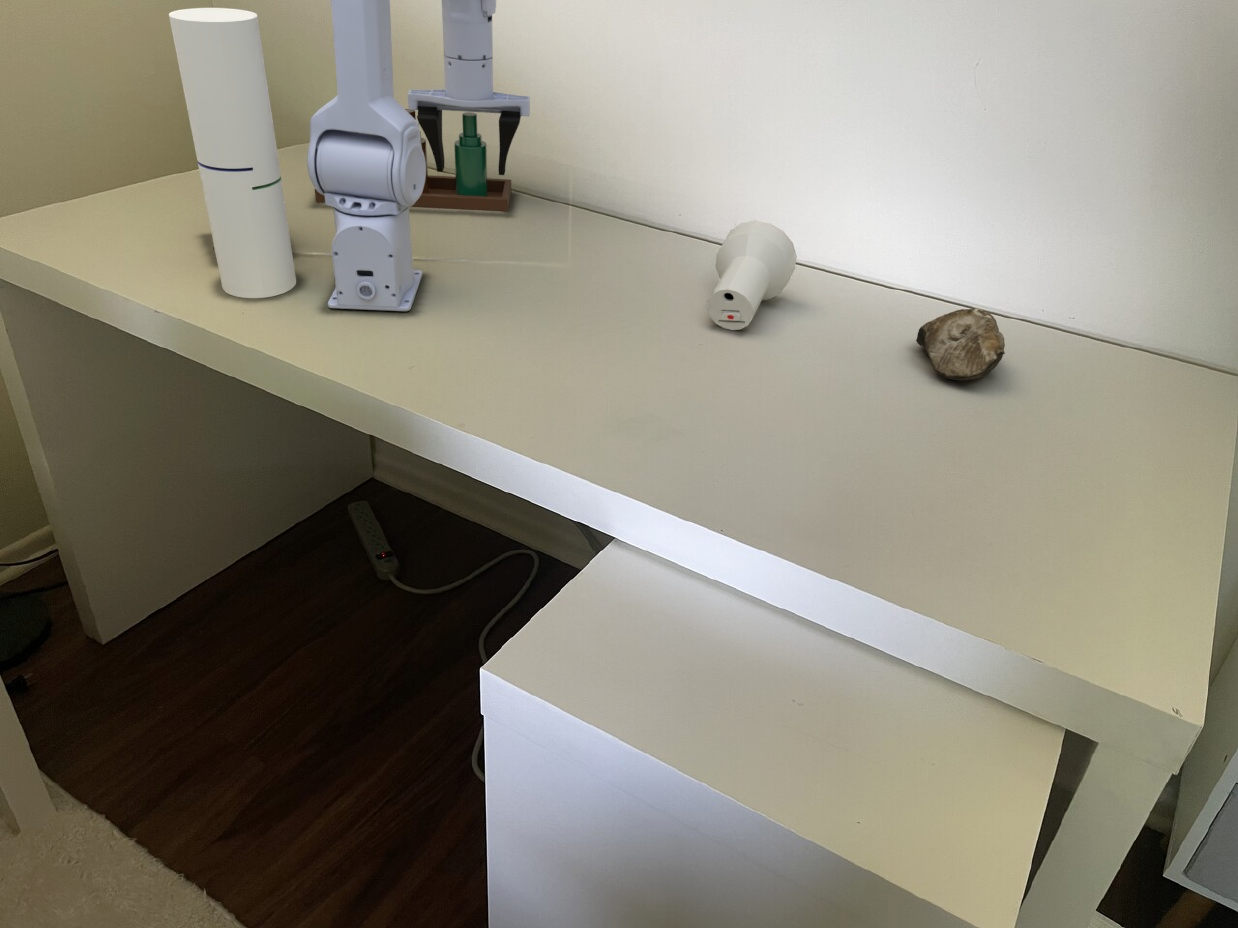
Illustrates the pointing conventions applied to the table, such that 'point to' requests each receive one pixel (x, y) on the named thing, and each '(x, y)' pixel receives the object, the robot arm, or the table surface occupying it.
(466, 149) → the green bottle
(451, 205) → the tray
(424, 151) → the brown bottle
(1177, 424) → the table surface
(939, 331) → the fossilized seashell
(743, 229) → the spotlight
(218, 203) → the cylindrical container
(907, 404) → the table surface
